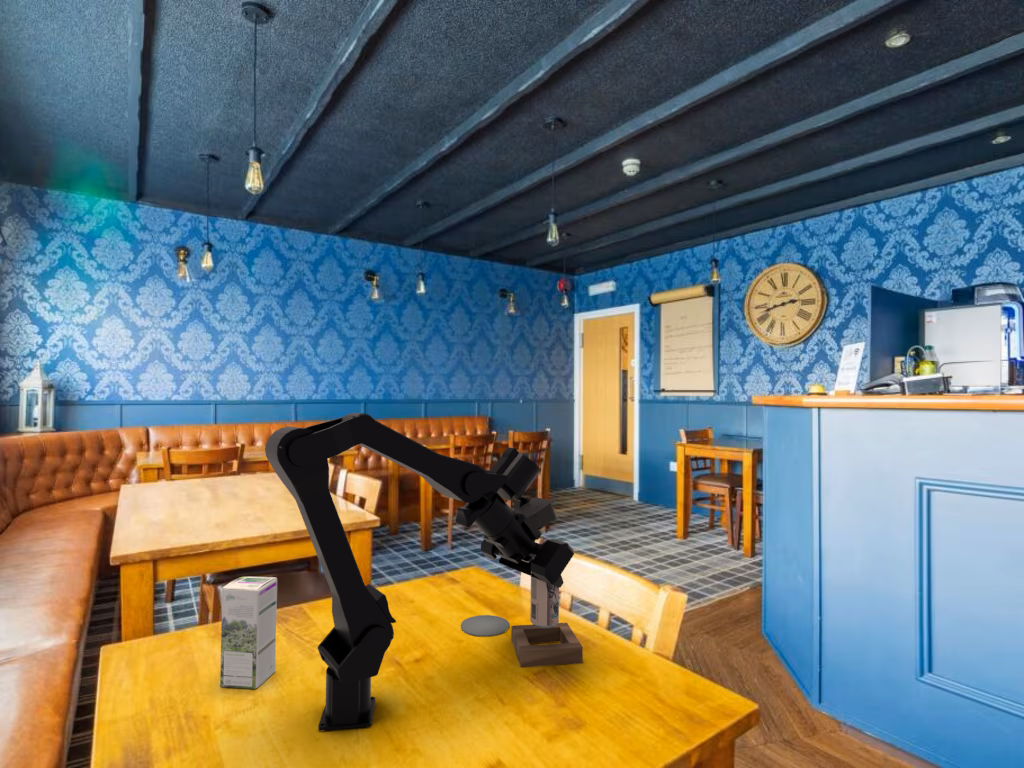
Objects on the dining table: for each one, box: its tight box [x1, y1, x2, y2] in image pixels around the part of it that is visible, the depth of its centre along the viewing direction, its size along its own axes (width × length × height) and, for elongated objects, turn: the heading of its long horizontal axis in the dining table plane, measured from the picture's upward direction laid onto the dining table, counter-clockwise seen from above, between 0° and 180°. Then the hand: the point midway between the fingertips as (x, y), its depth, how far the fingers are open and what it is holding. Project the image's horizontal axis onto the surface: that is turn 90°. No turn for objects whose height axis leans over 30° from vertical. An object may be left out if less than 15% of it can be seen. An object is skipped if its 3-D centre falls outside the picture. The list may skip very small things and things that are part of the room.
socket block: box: [510, 622, 584, 668], centre depth 92 cm, size 10×10×2 cm
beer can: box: [529, 558, 560, 628], centre depth 92 cm, size 5×5×12 cm
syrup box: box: [219, 575, 278, 690], centre depth 82 cm, size 6×6×14 cm
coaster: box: [460, 614, 510, 638], centre depth 102 cm, size 9×9×1 cm
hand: (551, 580), depth 93 cm, fingers closed on beer can, 5 cm apart
